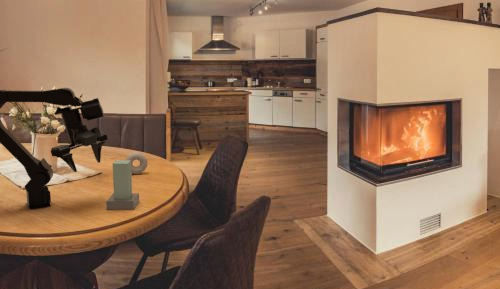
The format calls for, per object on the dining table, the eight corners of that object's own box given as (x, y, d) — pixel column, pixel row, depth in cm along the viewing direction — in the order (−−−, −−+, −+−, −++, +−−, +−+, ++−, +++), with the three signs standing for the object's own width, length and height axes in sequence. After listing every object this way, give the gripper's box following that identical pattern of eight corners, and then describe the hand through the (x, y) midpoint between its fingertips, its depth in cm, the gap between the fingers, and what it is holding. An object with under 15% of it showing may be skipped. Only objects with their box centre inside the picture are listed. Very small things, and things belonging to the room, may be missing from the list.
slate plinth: (106, 209, 138) (106, 201, 137) (113, 201, 146) (113, 193, 146) (133, 209, 138) (133, 201, 138) (139, 201, 147) (138, 193, 147)
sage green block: (114, 199, 139) (112, 163, 137) (117, 194, 144) (116, 160, 142) (128, 199, 140) (127, 163, 137) (132, 194, 144) (131, 160, 142)
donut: (147, 172, 188) (147, 151, 187) (148, 174, 185) (147, 152, 183) (124, 173, 185) (124, 152, 183) (125, 175, 182) (124, 153, 180)
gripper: (59, 131, 127) (75, 178, 131) (110, 115, 141) (123, 158, 145) (43, 132, 134) (58, 176, 138) (93, 117, 148) (105, 158, 152)
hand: (87, 167), depth 143 cm, fingers open, 9 cm apart
